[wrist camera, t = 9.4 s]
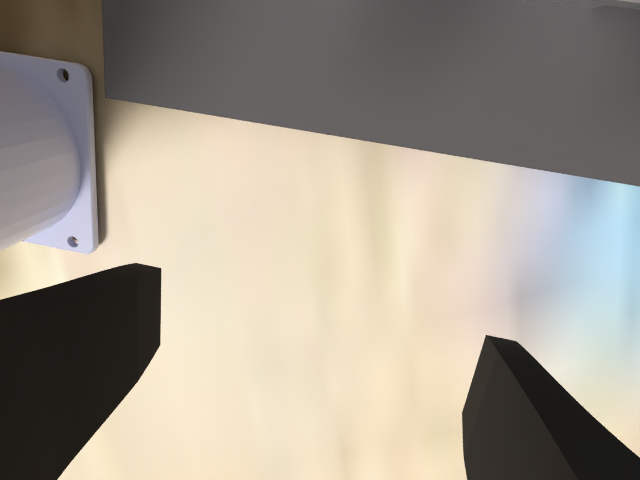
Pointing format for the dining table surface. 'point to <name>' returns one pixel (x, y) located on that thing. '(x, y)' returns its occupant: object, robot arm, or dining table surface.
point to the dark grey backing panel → (398, 73)
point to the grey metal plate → (593, 3)
